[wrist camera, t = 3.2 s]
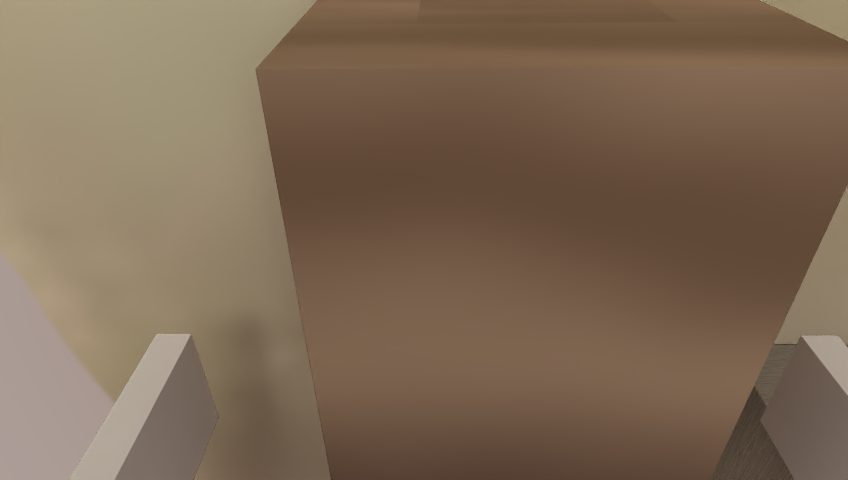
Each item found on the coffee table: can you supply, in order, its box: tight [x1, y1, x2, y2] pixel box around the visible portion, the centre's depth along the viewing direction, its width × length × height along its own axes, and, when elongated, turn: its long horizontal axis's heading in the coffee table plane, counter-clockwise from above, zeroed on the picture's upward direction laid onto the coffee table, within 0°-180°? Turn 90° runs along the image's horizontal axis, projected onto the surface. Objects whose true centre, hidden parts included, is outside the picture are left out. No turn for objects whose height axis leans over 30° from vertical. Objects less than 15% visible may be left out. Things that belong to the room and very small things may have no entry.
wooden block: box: [256, 0, 848, 480], centre depth 13 cm, size 15×7×6 cm, turn 1°
